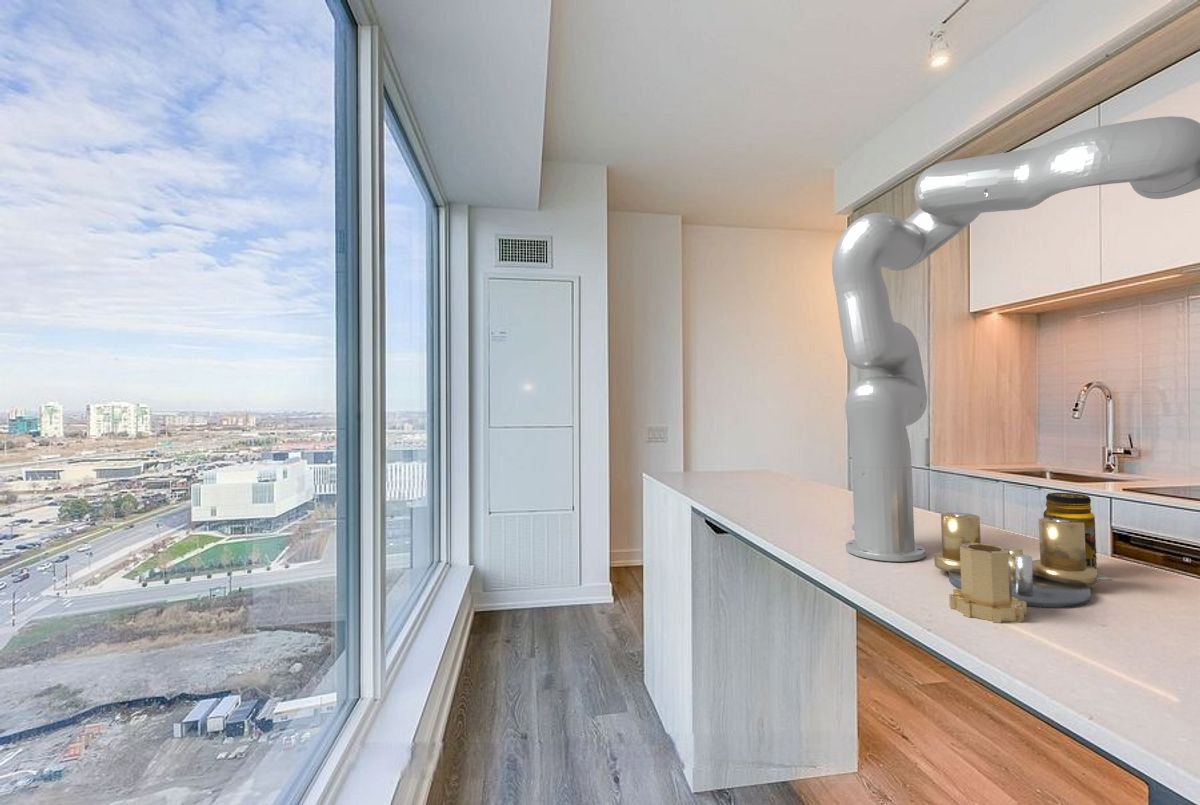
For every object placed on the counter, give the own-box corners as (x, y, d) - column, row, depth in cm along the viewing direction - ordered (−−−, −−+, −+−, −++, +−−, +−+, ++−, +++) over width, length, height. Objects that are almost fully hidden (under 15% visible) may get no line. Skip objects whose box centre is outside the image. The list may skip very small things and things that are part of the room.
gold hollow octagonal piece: (937, 601, 74) (935, 541, 74) (994, 599, 74) (992, 539, 74) (978, 623, 66) (976, 557, 66) (1042, 621, 66) (1039, 555, 66)
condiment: (1112, 580, 80) (1109, 498, 80) (1046, 578, 82) (1043, 498, 82) (1079, 566, 87) (1076, 491, 87) (1019, 564, 89) (1016, 490, 89)
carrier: (919, 569, 88) (917, 511, 88) (1033, 565, 88) (1031, 507, 88) (1002, 610, 70) (999, 536, 70) (1145, 604, 70) (1142, 531, 70)
